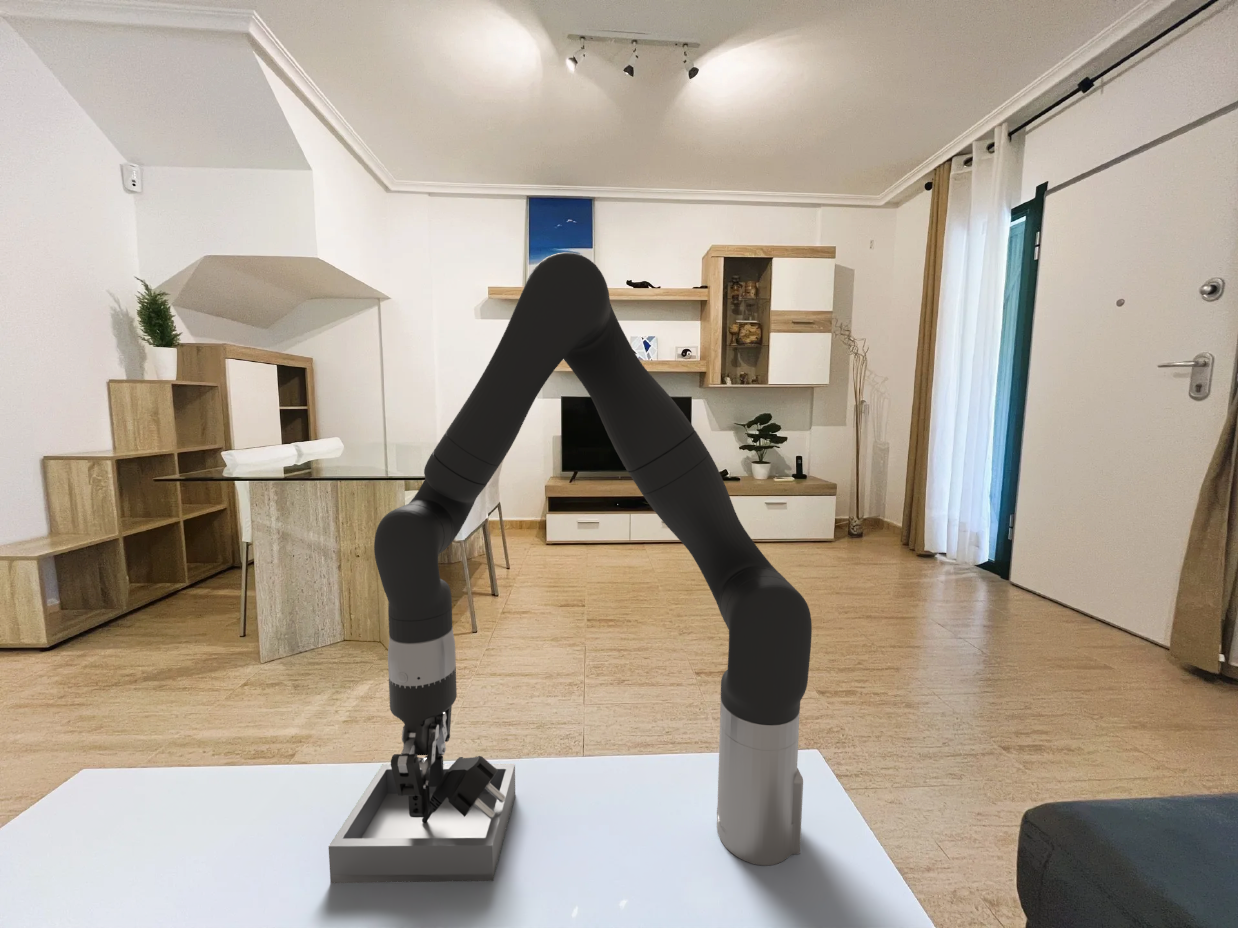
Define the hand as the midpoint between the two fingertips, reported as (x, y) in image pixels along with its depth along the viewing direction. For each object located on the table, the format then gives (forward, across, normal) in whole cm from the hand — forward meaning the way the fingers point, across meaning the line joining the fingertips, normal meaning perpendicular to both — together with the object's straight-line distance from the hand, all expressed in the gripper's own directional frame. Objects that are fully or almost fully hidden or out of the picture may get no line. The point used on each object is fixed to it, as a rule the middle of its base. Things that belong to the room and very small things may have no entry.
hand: (427, 798), depth 62 cm
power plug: (+5, 0, -2) cm, 6 cm away
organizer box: (+5, 0, 0) cm, 5 cm away
